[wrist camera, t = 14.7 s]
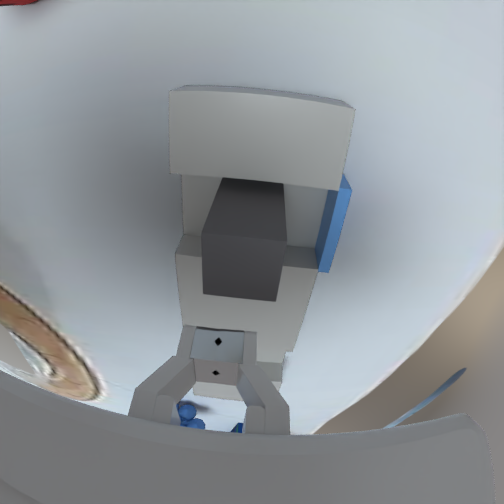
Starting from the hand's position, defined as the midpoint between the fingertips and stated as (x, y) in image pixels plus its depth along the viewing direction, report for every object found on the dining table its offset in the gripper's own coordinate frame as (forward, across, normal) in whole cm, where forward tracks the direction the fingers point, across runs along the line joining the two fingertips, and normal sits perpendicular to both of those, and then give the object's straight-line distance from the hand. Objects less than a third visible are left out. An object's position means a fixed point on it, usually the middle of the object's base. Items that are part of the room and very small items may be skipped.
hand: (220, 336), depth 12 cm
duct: (+12, -1, +9) cm, 15 cm away
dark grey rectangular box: (+11, -1, 0) cm, 11 cm away
